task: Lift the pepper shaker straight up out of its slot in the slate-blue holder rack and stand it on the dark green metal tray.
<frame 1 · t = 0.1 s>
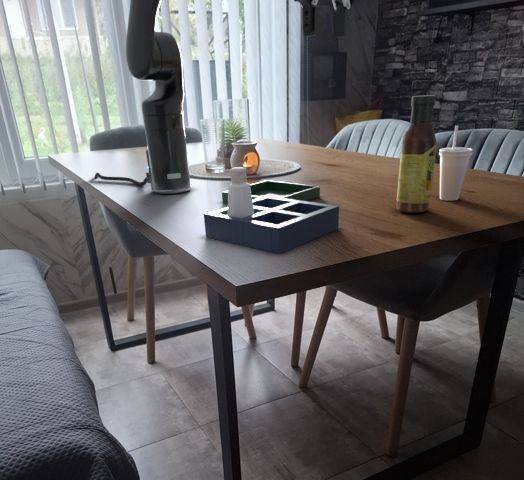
hand: (325, 36, 80), 29 cm above the table, tool pointing down, fingers open, 8 cm apart
sauce bottle: (411, 211, 94), on the table
pepper shaker: (242, 235, 84), resting in rack
rack: (272, 233, 84), on the table
smoothie: (448, 199, 102), on the table
tray: (271, 199, 107), on the table
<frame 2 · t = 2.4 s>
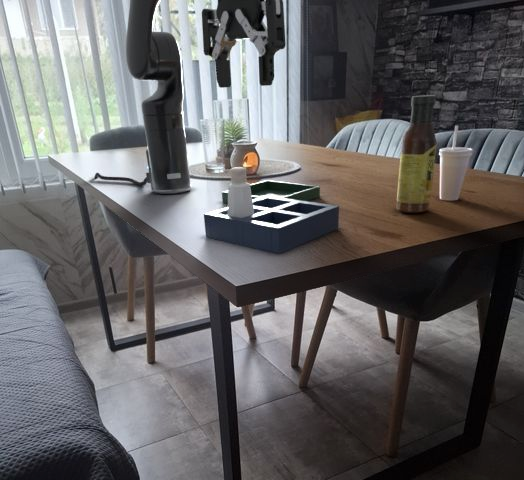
hand: (244, 86, 74), 23 cm above the table, tool pointing down, fingers open, 8 cm apart
nothing on the table moved.
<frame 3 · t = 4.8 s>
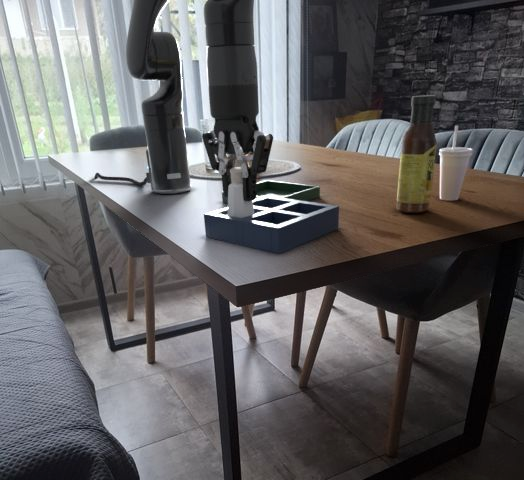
hand: (239, 198, 81), 6 cm above the table, tool pointing down, fingers closed on pepper shaker, 4 cm apart
pepper shaker: (242, 235, 84), resting in rack, touching gripper
everything else where it was.
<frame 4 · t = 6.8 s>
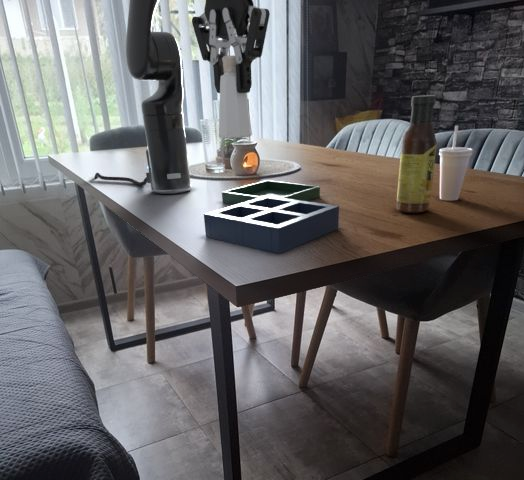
hand: (233, 92, 74), 22 cm above the table, tool pointing down, fingers closed on pepper shaker, 4 cm apart
pepper shaker: (235, 137, 77), point 16 cm above the table, touching gripper
everything else where it was.
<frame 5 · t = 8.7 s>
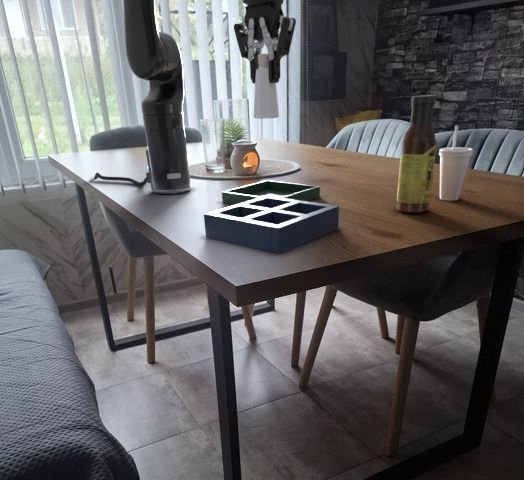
hand: (265, 82, 95), 23 cm above the table, tool pointing down, fingers closed on pepper shaker, 4 cm apart
pepper shaker: (266, 118, 98), point 16 cm above the table, touching gripper
everything else where it was.
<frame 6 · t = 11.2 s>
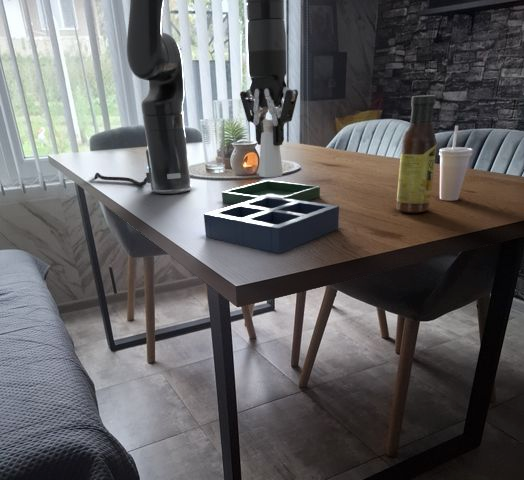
hand: (269, 144, 102), 11 cm above the table, tool pointing down, fingers closed on pepper shaker, 4 cm apart
pepper shaker: (271, 176, 105), point 5 cm above the table, touching gripper
everything else where it was.
when the fingers open (7 cm above the table, at t = 12.7 s): pepper shaker stays where it is, resting on tray.
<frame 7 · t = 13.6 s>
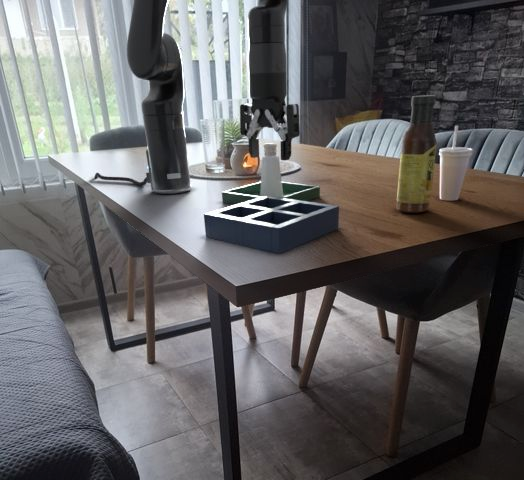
hand: (269, 158, 103), 9 cm above the table, tool pointing down, fingers open, 8 cm apart
pepper shaker: (271, 198, 107), resting on tray
everything else where it was.
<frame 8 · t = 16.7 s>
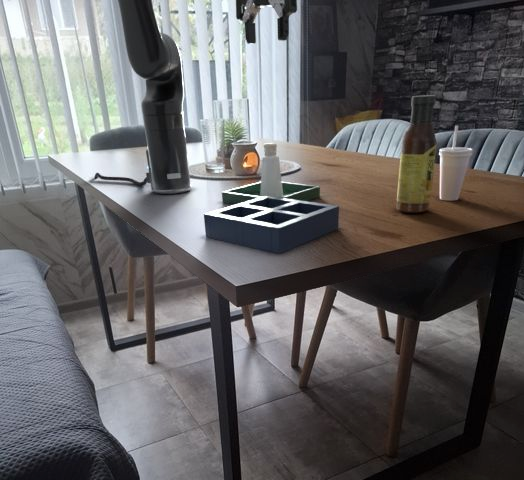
hand: (266, 42, 100), 30 cm above the table, tool pointing down, fingers open, 8 cm apart
nothing on the table moved.
at the end: pepper shaker inside the target area in the tray (0.1 cm from its centre), point 0.3 cm above the tray's base; pepper shaker tilted 0°; pepper shaker touching tray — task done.
